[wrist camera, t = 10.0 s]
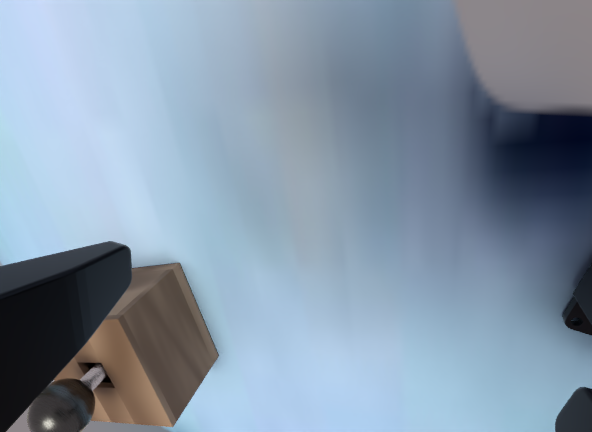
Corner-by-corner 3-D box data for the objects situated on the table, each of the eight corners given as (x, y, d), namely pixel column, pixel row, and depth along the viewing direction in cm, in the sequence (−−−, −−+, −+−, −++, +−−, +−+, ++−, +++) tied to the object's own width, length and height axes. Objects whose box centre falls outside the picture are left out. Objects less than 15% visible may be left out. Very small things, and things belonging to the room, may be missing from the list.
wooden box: (179, 262, 26) (118, 319, 20) (218, 355, 28) (173, 427, 23) (93, 272, 29) (20, 324, 23) (135, 356, 31) (78, 419, 26)
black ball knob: (165, 283, 26) (49, 393, 18) (196, 354, 28) (105, 481, 20) (100, 289, 28) (-30, 390, 20) (133, 354, 30) (27, 469, 22)
